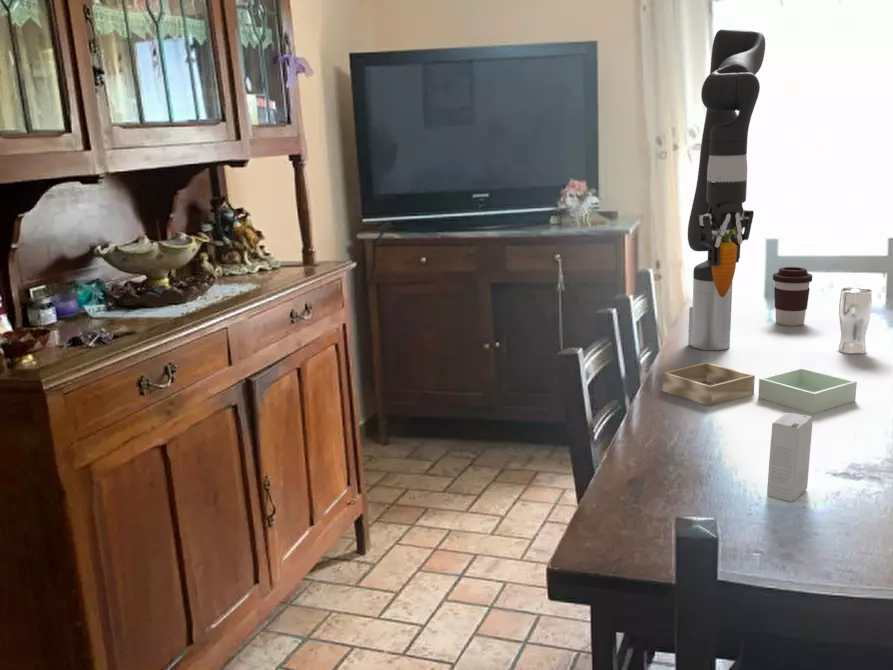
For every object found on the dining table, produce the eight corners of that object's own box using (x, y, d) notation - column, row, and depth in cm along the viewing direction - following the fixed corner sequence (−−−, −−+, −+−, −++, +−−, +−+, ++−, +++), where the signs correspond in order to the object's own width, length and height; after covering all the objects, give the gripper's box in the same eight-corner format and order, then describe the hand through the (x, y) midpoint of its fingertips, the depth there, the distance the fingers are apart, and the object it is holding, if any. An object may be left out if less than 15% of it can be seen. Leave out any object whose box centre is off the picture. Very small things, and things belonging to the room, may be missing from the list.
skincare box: (780, 483, 143) (784, 410, 140) (809, 490, 140) (814, 416, 137) (765, 496, 138) (769, 421, 135) (794, 504, 135) (799, 427, 132)
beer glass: (871, 355, 213) (876, 292, 209) (839, 354, 214) (843, 292, 210) (864, 348, 219) (868, 287, 216) (833, 347, 221) (837, 287, 217)
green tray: (758, 397, 185) (759, 378, 184) (800, 385, 192) (801, 367, 191) (813, 413, 174) (814, 393, 173) (855, 400, 181) (856, 381, 180)
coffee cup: (812, 321, 248) (816, 267, 244) (805, 328, 240) (808, 272, 236) (775, 318, 253) (778, 264, 249) (766, 325, 245) (769, 270, 241)
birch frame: (662, 390, 191) (662, 372, 191) (706, 380, 198) (706, 362, 197) (709, 406, 181) (710, 387, 180) (753, 394, 187) (754, 375, 186)
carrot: (735, 295, 185) (738, 222, 182) (734, 300, 181) (737, 225, 177) (710, 294, 187) (713, 221, 183) (708, 299, 182) (711, 224, 179)
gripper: (737, 175, 185) (734, 258, 189) (686, 180, 178) (683, 265, 182) (767, 176, 178) (763, 262, 183) (715, 181, 171) (712, 270, 175)
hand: (723, 263), depth 182 cm, fingers closed on carrot, 5 cm apart
